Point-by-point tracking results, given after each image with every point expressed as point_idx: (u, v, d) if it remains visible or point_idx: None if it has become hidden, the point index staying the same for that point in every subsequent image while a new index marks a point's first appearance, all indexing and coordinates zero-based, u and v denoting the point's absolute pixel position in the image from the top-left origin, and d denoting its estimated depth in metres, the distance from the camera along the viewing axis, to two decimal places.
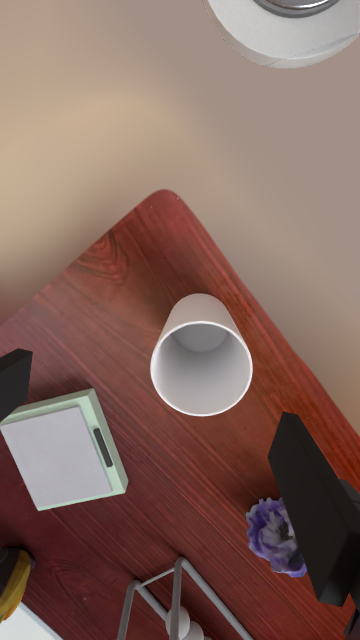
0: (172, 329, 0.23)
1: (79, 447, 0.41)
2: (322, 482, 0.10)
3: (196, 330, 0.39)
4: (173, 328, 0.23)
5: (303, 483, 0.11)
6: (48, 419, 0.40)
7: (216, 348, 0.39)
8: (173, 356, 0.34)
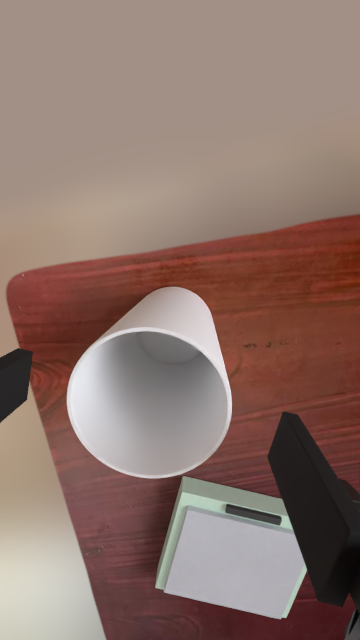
0: (69, 411, 0.15)
1: (236, 536, 0.32)
2: (322, 482, 0.10)
3: None
4: (68, 409, 0.15)
5: (303, 483, 0.11)
6: (183, 545, 0.32)
7: None
8: (175, 388, 0.25)
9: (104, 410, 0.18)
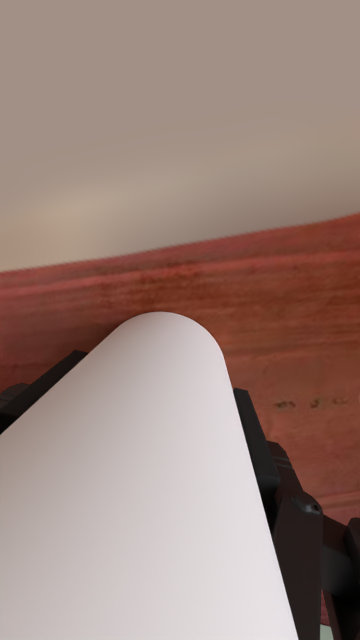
0: None
1: None
2: (249, 440, 0.12)
3: None
4: None
5: None
6: None
7: None
8: None
9: None
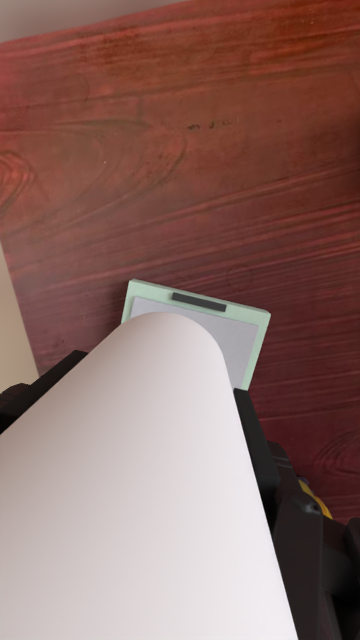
0: None
1: None
2: (249, 440, 0.12)
3: None
4: None
5: None
6: None
7: None
8: None
9: None
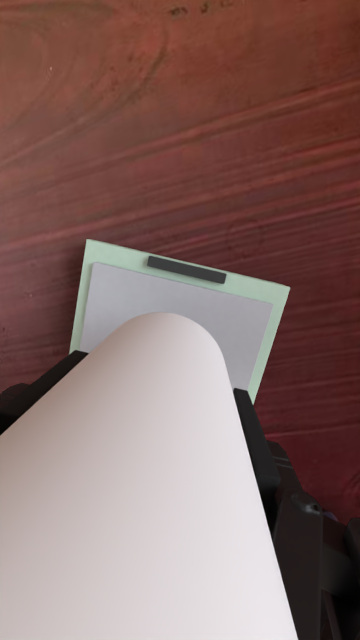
0: None
1: (163, 305, 0.23)
2: (249, 440, 0.12)
3: None
4: None
5: None
6: (92, 322, 0.23)
7: None
8: None
9: None
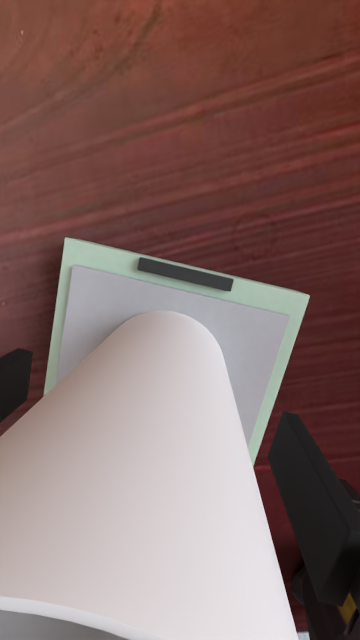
0: None
1: None
2: (322, 482, 0.10)
3: None
4: None
5: (303, 483, 0.11)
6: (72, 337, 0.19)
7: None
8: None
9: None
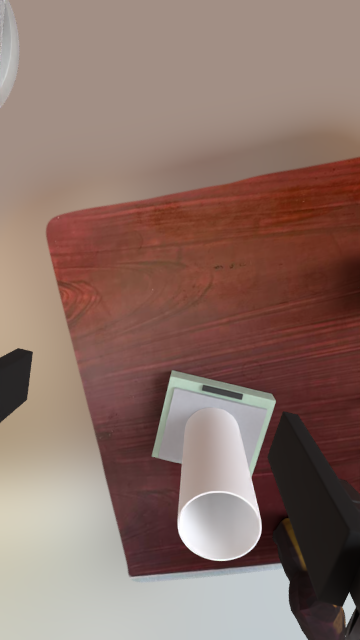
0: (178, 527, 0.29)
1: None
2: (322, 482, 0.10)
3: None
4: (178, 526, 0.29)
5: (303, 483, 0.11)
6: (172, 417, 0.44)
7: None
8: None
9: (187, 515, 0.32)
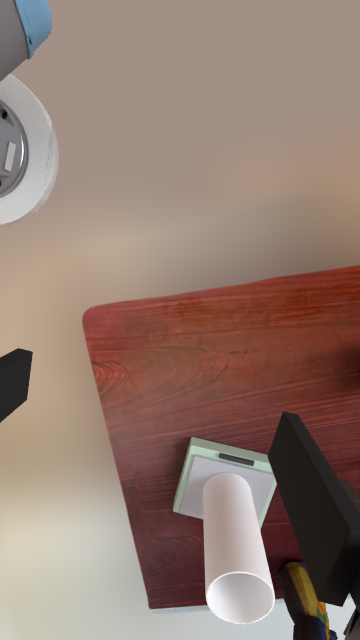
0: (206, 598, 0.35)
1: None
2: (322, 482, 0.10)
3: None
4: (206, 597, 0.35)
5: (303, 483, 0.11)
6: (192, 480, 0.50)
7: None
8: None
9: None
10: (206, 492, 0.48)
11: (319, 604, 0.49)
